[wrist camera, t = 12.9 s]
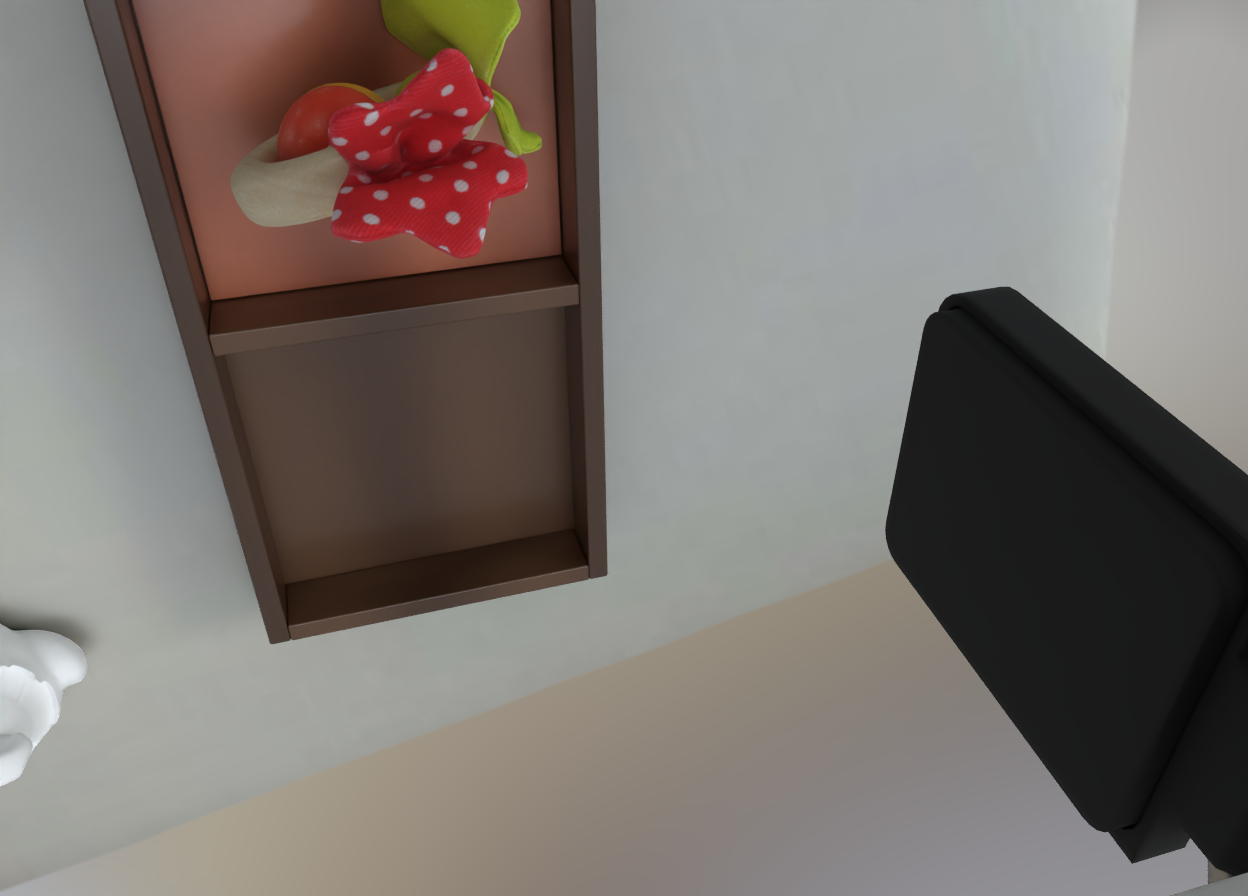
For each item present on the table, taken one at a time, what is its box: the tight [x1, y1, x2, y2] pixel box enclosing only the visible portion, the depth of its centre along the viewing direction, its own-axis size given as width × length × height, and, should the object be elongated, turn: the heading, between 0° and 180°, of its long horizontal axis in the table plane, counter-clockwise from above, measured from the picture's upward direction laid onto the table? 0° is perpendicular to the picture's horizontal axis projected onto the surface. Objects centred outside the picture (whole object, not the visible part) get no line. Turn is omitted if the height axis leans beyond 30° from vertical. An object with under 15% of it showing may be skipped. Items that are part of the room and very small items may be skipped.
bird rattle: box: [230, 0, 542, 259], centre depth 29 cm, size 6×11×9 cm
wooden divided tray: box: [83, 0, 607, 644], centre depth 35 cm, size 14×26×3 cm, turn 0°
